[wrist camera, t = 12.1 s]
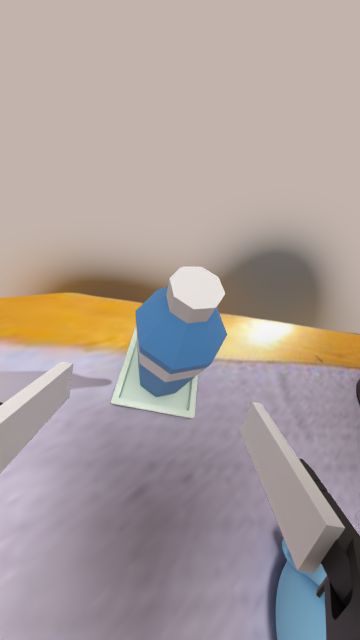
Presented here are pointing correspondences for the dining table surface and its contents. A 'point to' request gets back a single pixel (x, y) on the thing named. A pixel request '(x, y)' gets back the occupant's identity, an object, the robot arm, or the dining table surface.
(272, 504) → the robot arm
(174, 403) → the tray
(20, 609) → the dining table surface
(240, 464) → the dining table surface
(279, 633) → the teapot
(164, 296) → the water bottle
